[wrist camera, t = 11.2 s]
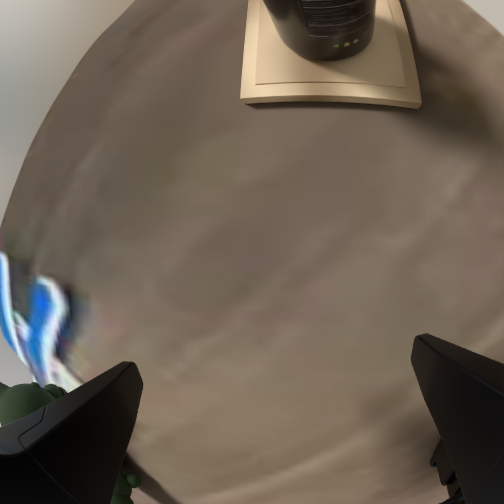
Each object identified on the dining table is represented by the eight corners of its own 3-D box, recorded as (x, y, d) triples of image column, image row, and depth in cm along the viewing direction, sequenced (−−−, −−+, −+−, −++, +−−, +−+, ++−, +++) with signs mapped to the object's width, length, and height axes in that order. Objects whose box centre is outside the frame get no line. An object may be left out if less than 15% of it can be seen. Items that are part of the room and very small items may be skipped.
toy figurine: (179, 476, 26) (34, 335, 28) (104, 586, 8) (-77, 388, 10) (149, 491, 28) (26, 371, 30) (85, 576, 10) (-62, 420, 12)
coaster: (392, -8, 14) (393, -16, 13) (418, 109, 15) (422, 102, 14) (253, -7, 17) (249, -14, 16) (244, 103, 19) (239, 97, 18)
